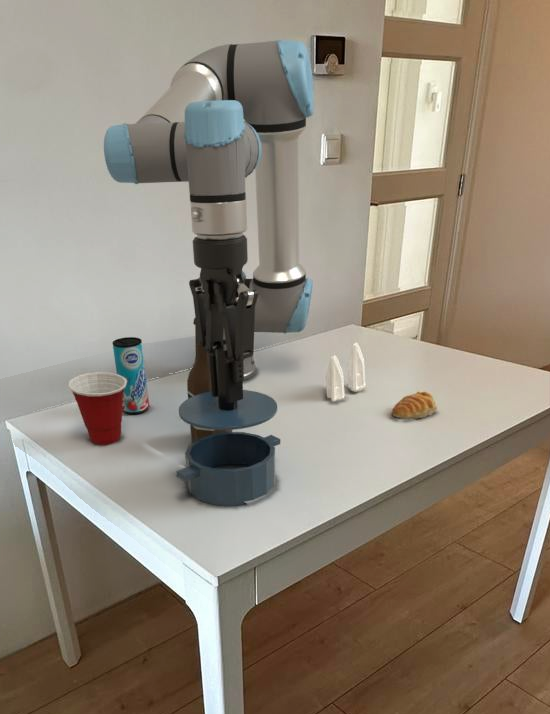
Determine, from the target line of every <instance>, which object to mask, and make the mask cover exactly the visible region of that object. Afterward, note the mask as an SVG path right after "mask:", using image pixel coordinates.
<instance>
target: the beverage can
mask: <svg viewBox="0 0 550 714" xmlns="http://www.w3.org/2000/svg"><path fill="white" fill-rule="evenodd" d="M142 342H143V341H142V339H141V338H139V337H135V336H128V337H121V338H116V339H115V340H113V341H112V349H113V356H114V363H115V371H116V374H118V375H120V376H123V377H124V378H125V379H126V380H127V384H126V387H125V388H124V393H123V404H122V412H123V413H125V414H128V415H140V414H144V413H146V412H147V411H148V410H149V409H150V400H149V391H148V383H147V373H146V366H145V365H146V364H145V358H144V356H145V355H144V350H143V349H144V348H143V343H142Z"/></svg>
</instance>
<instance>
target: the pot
mask: <svg viewBox="0 0 550 714" xmlns="http://www.w3.org/2000/svg"><path fill="white" fill-rule="evenodd" d="M279 445H281V438H279V437H277V436H276V435H273V434H270V435H267V436H261V435H259V434H257V433H256V434H255V433H250V432H245V431H232V432H224V433H217V434H211V435H208V436H205V437H203V438H200V439H198V440H196V441H194V442H193V443H192V442H191V443H190V444H189V445H188V446H187V447H186V451H185V453H184V458H185V459H184V460H185V467H182V468H180V469H178V470H176V471H175V474H176V477H177V478H178V479H179V480H181V481H183V482H185V483H186V482H187V488H188V490H189V493H190V494H191V495H192V496H193V497H194V498H195V499H197V500H198V501H200V502H202V503H205V504H208V505H213V506H218V507H219V506H220V507H239V506H245V505H248V503H246V502H250V501H251V502H252V501H255V500H257V499H259V498H262V497H264V496H266V495H268V493H270V491H271V490H272V489H273V488H274V487H275V484H276V446H279ZM227 464H236V465H237V464H240V465H241V464H243V465H248V466H245V467H239V468H214V467H216V466H222V465H227Z"/></svg>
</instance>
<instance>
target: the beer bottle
mask: <svg viewBox="0 0 550 714" xmlns="http://www.w3.org/2000/svg"><path fill="white" fill-rule="evenodd" d="M192 324H193V325H194V330H195V332H194V335H195V338H194V341H195V342H194V343H195V355H194V356H195V357H194V362H195V364H194V363H193V365H194V366H193V365H192V367H191V369H190V371H189V372H188V377H187V381H186V386H187V387H186V388H187V389H186V391H187V399H189V398H191V397H193V396H196V395H198V394H202V393H206V392H210V391H212V385H211V373H210V369H209V354H208V353H207V352H206V349H205V348H204V347H200V346H199V343H198V334H197V326H196V318H195V317H194V318H193V323H192ZM205 338H206V336H205ZM189 426H190V437H191V444H192V443H193V442H194V441H196V440H198V439H200V438H203V437H205V436H208V435H211V434H217V433H224V432H233V430H212V429H204V428H199V427H195V426H192V425H190V424H189Z"/></svg>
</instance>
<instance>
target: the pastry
mask: <svg viewBox="0 0 550 714" xmlns="http://www.w3.org/2000/svg"><path fill="white" fill-rule="evenodd" d="M437 410H438V406H437V404H436V400H435V399H434V395H432V394H431V393H430V392H427V391H421V392H420V391H417V392H416V393H412V394H408V395H406V396H403V397H402V398H401V399H400V400H399V401H398V402H397V403H395V405H394V406H393V408H392V417H395V418H398V419H401V420H409V419H413V420H418V419H423V418H426V417H428V416H431V415H433V414H434V413H435V412H436V411H437Z"/></svg>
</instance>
